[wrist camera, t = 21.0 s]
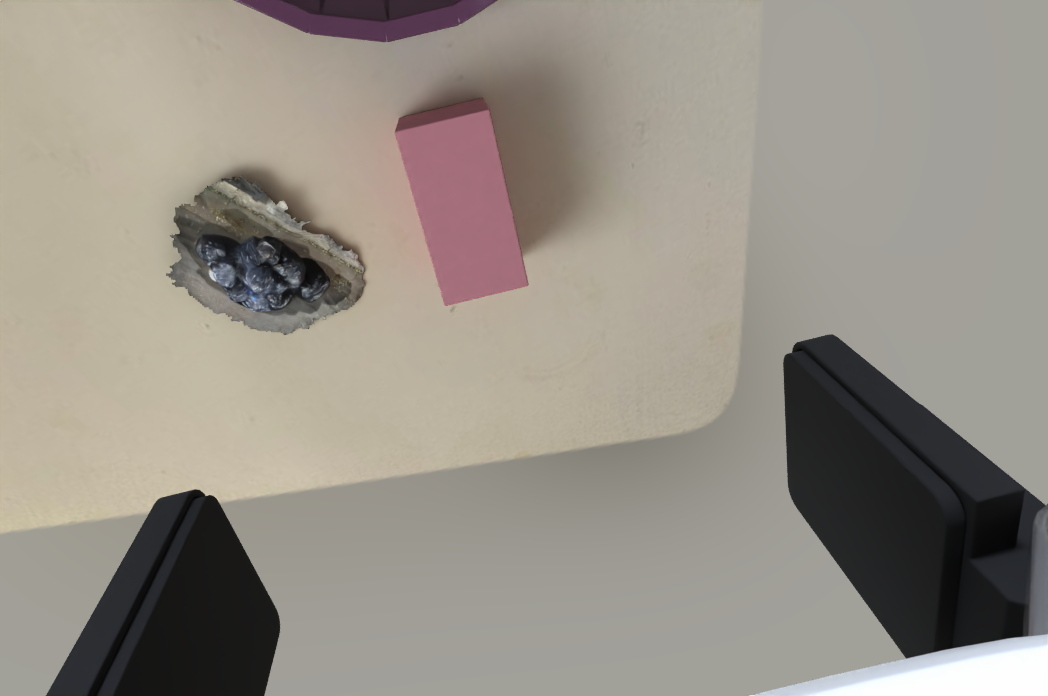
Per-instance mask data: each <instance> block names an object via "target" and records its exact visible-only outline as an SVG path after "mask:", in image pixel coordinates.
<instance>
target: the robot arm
mask: <svg viewBox="0 0 1048 696" xmlns="http://www.w3.org/2000/svg"><path fill="white" fill-rule="evenodd" d="M783 364H784V365H783V366H784V390H785V391H784V393H785V417H786V418H785V419H786V443H787V444H786V445H787V473H788V488H789V492H790V495H791V498H792V500H793V502H794V504H795V506H796V507H797V509H798V510H799V511H800V513H801V514H802V516H803V517H804V518H805V520H806V521H807V523H808V524H809V525H810V526H811V528H812V529H813V531H814V532H815V534H816V535H817V536H818V537H819V539H820V540H821V542H822V543H823V545H824V546H825V547H826V549H827V550H828V551H829V552H830V554H831V556H832V557H833V558H834V560H835V561H836V562H837V564H838V565H839V566H840V568H841V569H842V571H843V572H844V573H845V575H846V576H847V578H848V579H849V580H850V582H851V583H852V584H853V586H854V587H855V589H856V590H857V591H858V593H859V594H860V595H861V597H862V598H863V600H864V601H865V602H866V604H867V605H868V606H869V608H870V609H871V611H873V613H874V615H875V616H876V617H877V619H878V620H879V622H880V623H881V624H882V626H883V627H884V628H885V630H886V631H887V632H888V634H889V635H890V637H891V638H892V639H893V641H894V642H895V644H896V645H897V646H898V648H899V649H900V650H901V652H902V653H903V655H904V656H905V657H906V659H903V660H898V661H894V662H889V663H885V664H881V665H876V666H872V667H867V668H863V669H858V670H854V671H849V672H845V673H840V674H836V675H832V676H828V677H823V678H819V679H815V680H811V681H807V682H803V683H799V684H795V685H791V686H786V687H782V688H778V689H774V690H770V691H766V692H762V693H758V694H754V695H749V696H1048V504H1047V505H1044V504H1043V503H1042V502H1041V501H1040V500H1038V499H1037V498H1036V497H1035V496H1034V495H1032V494H1031V493H1030V492H1029V491H1027V490H1026V489H1025V488H1024V487H1022V486H1021V485H1020V484H1019V483H1017V482H1016V481H1015V480H1013V478H1011V477H1010V476H1009V475H1007V474H1006V473H1005V472H1004V471H1003V470H1001V469H1000V468H999V467H998V466H997V465H995V464H994V463H993V462H992V461H990V460H989V459H988V458H987V457H985V456H984V455H983V454H982V453H981V452H979V451H978V450H977V449H976V448H974V447H973V446H972V445H971V444H969V443H968V442H967V441H966V440H964V439H963V438H962V437H961V436H960V435H958V434H957V433H956V432H955V431H953V430H952V429H951V428H950V427H948V426H947V425H946V424H945V423H943V422H942V421H941V420H940V419H939V418H937V417H936V416H935V415H934V414H932V413H931V412H930V411H929V410H928V409H926V408H925V407H924V406H923V405H921V404H919V403H918V402H916V401H915V400H914V399H913V398H911V397H910V396H909V395H908V394H906V393H905V392H904V391H903V390H902V389H900V388H899V387H898V386H897V385H895V384H894V383H893V382H892V381H891V380H889V379H888V378H887V377H886V376H884V375H883V374H882V373H881V372H879V371H878V370H877V369H876V368H875V367H873V366H872V365H871V364H869V363H868V362H867V361H866V360H865V359H863V358H862V357H861V356H860V355H859V354H857V353H856V352H855V351H854V350H852V349H851V348H850V347H849V346H847V345H846V344H845V343H844V342H843V341H841V340H840V339H839V338H838V337H836V336H834V335H825V336H821V337H817V338H813V339H809V340H805V341H801V342H797V343H796V344H795V345H794V347H793V351H792V353H789V354H786V355H785V357H784V363H783ZM279 633H280V621H279V615H278V612H277V610H276V608H275V606H274V604H273V602H272V600H271V598H270V596H269V595H268V593H267V591H266V589H265V587H264V585H263V583H262V582H261V580H260V578H259V576H258V574H257V572H256V571H255V569H254V567H253V565H252V563H251V561H250V559H249V557H248V556H247V554H246V552H245V550H244V549H243V546H242V544H241V543H240V541H239V539H238V537H237V535H236V533H235V531H234V530H233V528H232V526H231V524H230V522H229V520H228V519H227V517H226V515H225V513H224V511H223V509H222V508H221V505H220V504H219V502H218V500H217V499H216V498H215V497H214V496H211V495H209V496H205V494H204V493H203V492H201V491H200V490H196V489H195V490H191V491H187V492H183V493H179V494H175V495H171V496H166V497H163V498H160V499H158V500H157V501H156V503H155V504H154V506H153V508H152V509H151V511H150V513H149V515H148V517H147V518H146V520H145V522H144V523H143V525H142V527H141V529H140V531H139V532H138V534H137V536H136V538H135V539H134V541H133V543H132V545H131V547H130V548H129V550H128V552H127V553H126V555H125V557H124V559H123V561H122V562H121V564H120V566H119V568H118V569H117V571H116V573H115V575H114V577H113V578H112V580H111V582H110V584H109V585H108V587H107V589H106V591H105V592H104V594H103V596H102V598H101V600H100V601H99V603H98V605H97V607H96V608H95V610H94V612H93V614H92V615H91V617H90V619H89V621H88V622H87V624H86V626H85V628H84V630H83V631H82V633H81V635H80V637H79V639H78V640H77V642H76V644H75V645H74V647H73V649H72V651H71V653H70V654H69V656H68V658H67V660H66V661H65V663H64V665H63V667H62V668H61V670H60V672H59V674H58V676H57V677H56V679H55V681H54V683H53V684H52V686H51V688H50V690H49V692H48V693H47V695H46V696H264V694H265V690H266V686H267V682H268V678H269V674H270V670H271V666H272V662H273V658H274V654H275V650H276V646H277V642H278V637H279Z"/></svg>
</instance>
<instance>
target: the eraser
mask: <svg viewBox="0 0 1048 696" xmlns="http://www.w3.org/2000/svg"><path fill="white" fill-rule="evenodd" d="M395 135H396V139H397V142H398V146H399V149H400V153H401V156H402V160H403V163H404V167H405V170H406V173H407V177H408V180H409V184H410V187H411V191H412V194H413V198H414V201H415V205H416V208H417V211H418V215H419V218H420V222H421V225H422V229H423V232H424V236H425V239H426V243H427V246H428V249H429V253H430V256H431V260H432V263H433V267H434V270H435V274H436V277H437V281H438V284H439V287H440V291H441V294H442V298H443V301H444V305H445V306H447V305H451V304H455V303H460V302H464V301H468V300H472V299H476V298H480V297H484V296H488V295H492V294H497V293H501V292H505V291H509V290H513V289H517V288H521V287H525V286H528V280H527V275H526V271H525V266H524V262H523V257H522V253H521V248H520V244H519V240H518V235H517V231H516V226H515V222H514V217H513V213H512V208H511V204H510V199H509V195H508V190H507V186H506V181H505V177H504V172H503V168H502V163H501V159H500V154H499V150H498V145H497V141H496V137H495V132H494V128H493V123H492V119H491V114H490V110H489V108H488V106H487V105H486V103H485V101H484V99H483V98H481V99H477V100H472V101H468V102H464V103H460V104H456V105H452V106H447V107H443V108H439V109H435V110H431V111H426V112H422V113H418V114H414V115H410V116H406V117H401V118H399V121H398V124H397V127H396V130H395Z"/></svg>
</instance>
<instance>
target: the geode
mask: <svg viewBox="0 0 1048 696" xmlns="http://www.w3.org/2000/svg"><path fill="white" fill-rule="evenodd" d="M239 178H240V179H235V177H232V178H231V179H221V181H220V182H219V183H217V182H216V184H215V185H214V184H212V185H211V186H210V187H208V186H207V188H205V189H204V191H203V193H200V195H195V197H194V202H197V205H196V206H191V205H190V204H184V206H183V205H182V206H179V208H175V210H176V216H175V217H174V222H175V223H176V224H177V226H178V228H179V230H180V234H175V235H170V234H169V235H170V236H171V237H172V238H174V241H173V247H175V248H178V253H181V256H182V259H181V260H180V261H179V262H178V263H175V264H174V265H173V266H170V268H172V269H173V272H172V271H171V274H166V276H169V277H170V278H171V279H173V280H176V282H175V283H172V285H174V284H175V286H176V287H177V286H178V287H185V288H186V289H188V293H189V295H190V296H193V298H195V299H196V300H198V302H200V303H202V305H204V307H209V309H212V310H213V312H214V313H216V314H220V313H226V315H228V317H229V316H232V317H233V318H232V319H231V321H238V322H240V321H244V326H247V325H248V327H250V329H257V330H260V331H266V332H267V331H271V332H281V333H283V334H284V335H286V334H289V333H292V332H294V331H295V330H296V329H298V328H300V327H302V328H303V329H309V325H311V323H314V322H313V318H316V319H319V318H322V319H326V316H327V315H328V314H334V313H337V312H338V311H340V310H347V309H348V308H350V307H352V305H354V302H356V300H358V298H360V295H361V293H362V287H364V286H366V285H365V284H364V281H362V275H363V274H364V267H362V265H360V261H358V256H357V254H355V253H353V251H352V249H351V250H350V251H341V249H342V248H343V246H342V245H341V246H340V247H338V246H337V244H336V242H334V241H333V238H332V239H329V235H324V234H311V232H310V233H309V232H306V230H302V225H304V224H308V223H309V222H311V221H308V222H303V221H301V222H300V223H297V221H295V219H296V217H295V218H294V219H291V217H290V215H289V214H287V213H284V210H285V209H288V207H287V205H286V203H285V202H284V201H283V202H281V201H279V203H278V204H277V205H275V203H273V201H272V200H270V197H268V196H266V193H265V192H263V191H262V189H259V185H258V184H257V183H256V182H253V183H248V180H246V179H245V178H243V176H241V177H239ZM241 309H246V310H241ZM314 324H315V323H314Z"/></svg>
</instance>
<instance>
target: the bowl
mask: <svg viewBox="0 0 1048 696" xmlns="http://www.w3.org/2000/svg"><path fill="white" fill-rule="evenodd" d="M234 1H236V2H238V3H241V4H243V5H245V6H247V7H250V8H252V9H254V10H256V11H259V12H261V13H263V14H265V15H268V16H270V17H272V18H274V19H276V20H279V21H281V22H283V23H285V24H288V25H290V26H292V27H294V28H297V29H299V30H301V31H303V32H306V33H309V34H314V35H323V36H332V37H341V38H351V39H360V40H369V41H378V42H390V41H395V40H399V39H403V38H407V37H411V36H416V35H420V34H424V33H428V32H432V31H437V30H441V29H445V28H449V27H453V26H458V25H459V24H462V23H464V22H465V21H467V20H468V19H470V18H471V17H473V16H474V15H476V14H477V13H479V12H481V11H482V10H484V9H485V8H487V7H488V6H490V5H491V4H493V3H494V2H496V1H497V0H234Z"/></svg>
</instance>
